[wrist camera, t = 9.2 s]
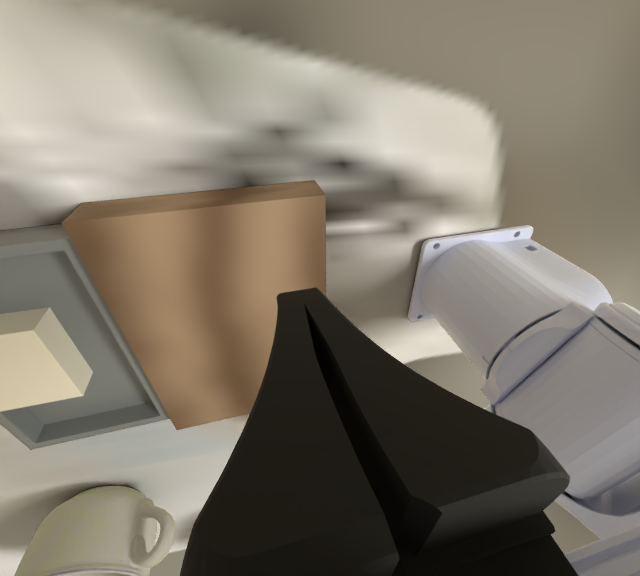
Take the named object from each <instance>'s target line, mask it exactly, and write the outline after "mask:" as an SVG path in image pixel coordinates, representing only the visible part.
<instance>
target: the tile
mask: <svg viewBox="0 0 640 576" xmlns="http://www.w3.org/2000/svg"><path fill="white" fill-rule="evenodd" d="M92 374H93V371H92V370H91V368H90V367H89V365H88V364H87V362H86V361H85V359H84V358H83V356H82V355H81V353H80V352H79V350H78V349H77V347H76V346H75V344H74V343H73V341H72V340H71V338H70V337H69V335H68V334H67V333H66V331H65V330H64V328H63V327H62V325H61V324H60V322H59V321H58V319H57V318H56V316H55V315H54V313H53V312H52V310H51V309H50V307H48V308H41V309H33V310H26V311H19V312H11V313H4V314H0V412H1V411H6V410H11V409H17V408H22V407H27V406H32V405H38V404H43V403H48V402H54V401H59V400H64V399H69V398H75V397H80V396H83V395H84V393H85V390H86V388H87V386H88V383H89V381H90V378H91V376H92Z"/></svg>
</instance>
